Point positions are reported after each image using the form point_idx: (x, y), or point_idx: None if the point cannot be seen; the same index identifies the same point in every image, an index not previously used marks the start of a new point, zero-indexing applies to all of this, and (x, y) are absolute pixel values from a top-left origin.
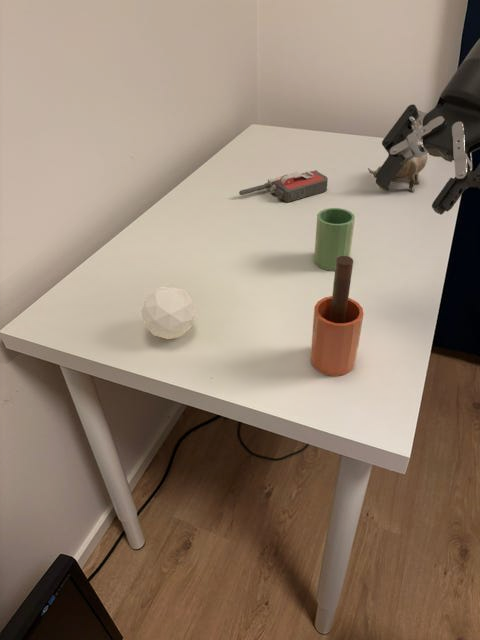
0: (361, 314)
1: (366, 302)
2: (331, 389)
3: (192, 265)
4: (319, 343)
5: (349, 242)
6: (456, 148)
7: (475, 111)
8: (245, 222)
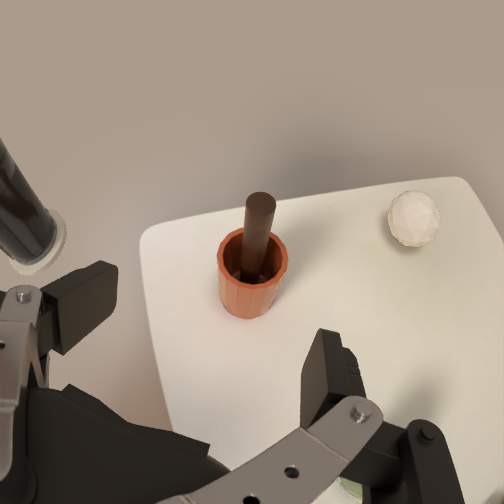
0: (221, 265)
1: (270, 423)
2: None
3: (473, 328)
4: None
5: (357, 484)
6: (10, 348)
7: None
8: (491, 441)
